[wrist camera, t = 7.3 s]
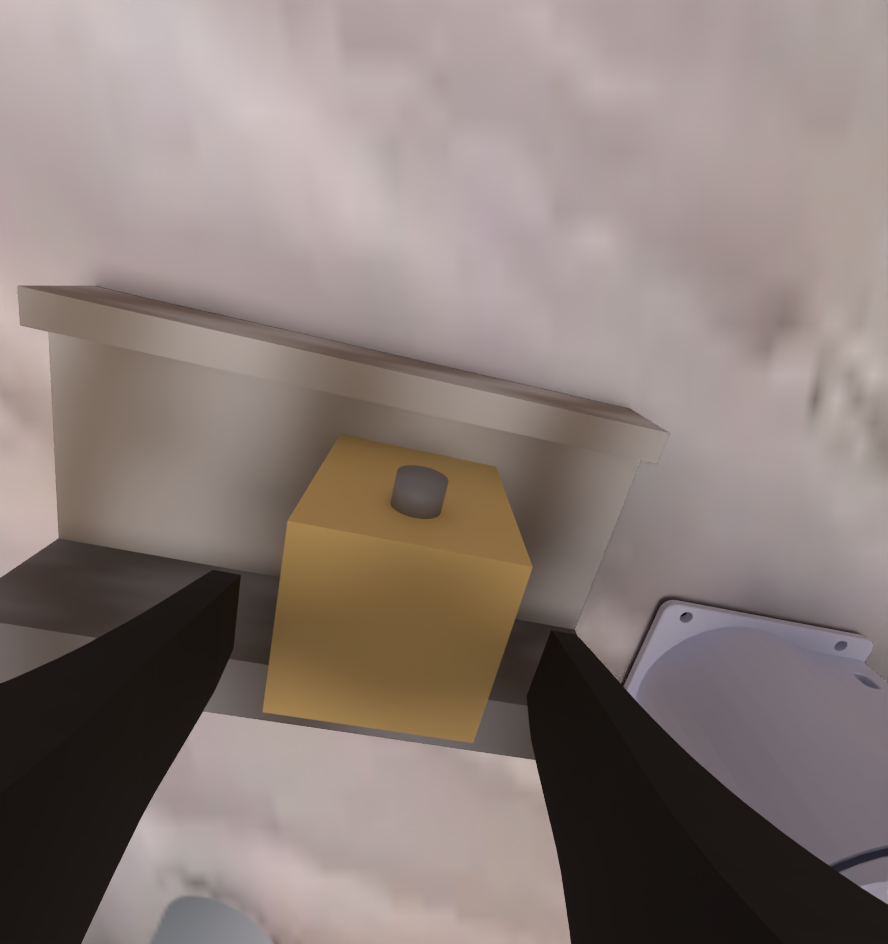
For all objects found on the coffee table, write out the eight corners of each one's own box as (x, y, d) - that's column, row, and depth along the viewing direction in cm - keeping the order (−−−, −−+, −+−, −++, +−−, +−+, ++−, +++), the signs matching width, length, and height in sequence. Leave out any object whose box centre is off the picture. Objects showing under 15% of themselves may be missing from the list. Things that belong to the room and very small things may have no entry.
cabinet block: (502, 443, 15) (544, 533, 10) (459, 595, 17) (473, 743, 12) (344, 409, 15) (292, 483, 9) (318, 570, 17) (262, 711, 11)
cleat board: (630, 409, 17) (727, 468, 12) (546, 636, 21) (590, 767, 15) (92, 285, 15) (-103, 285, 10) (98, 558, 19) (-45, 674, 13)
